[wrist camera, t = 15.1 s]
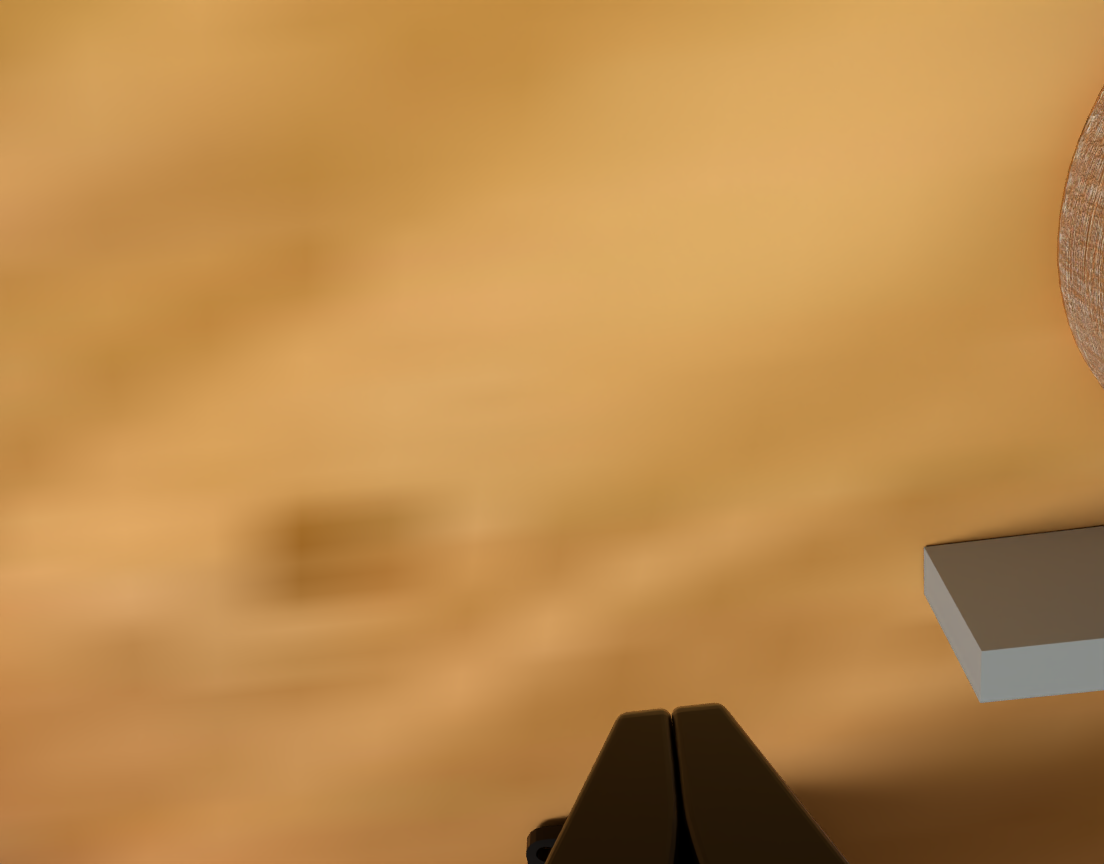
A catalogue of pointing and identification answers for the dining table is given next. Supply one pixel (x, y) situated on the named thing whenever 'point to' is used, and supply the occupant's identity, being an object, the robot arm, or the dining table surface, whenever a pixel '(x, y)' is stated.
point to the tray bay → (1023, 611)
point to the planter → (1085, 242)
